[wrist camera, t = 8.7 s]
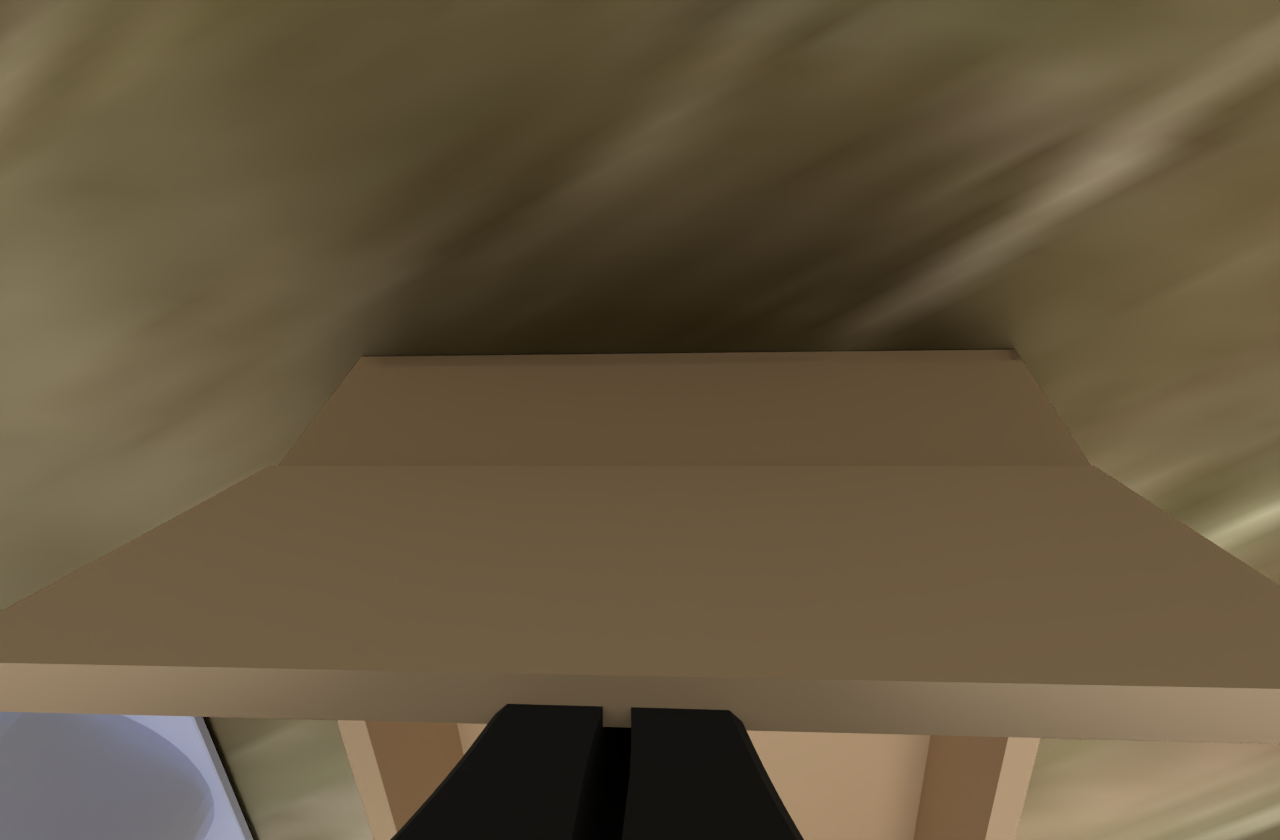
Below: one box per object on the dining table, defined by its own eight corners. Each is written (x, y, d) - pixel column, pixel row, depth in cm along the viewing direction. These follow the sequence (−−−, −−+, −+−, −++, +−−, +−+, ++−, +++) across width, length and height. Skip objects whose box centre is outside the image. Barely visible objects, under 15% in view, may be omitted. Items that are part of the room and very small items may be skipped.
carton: (474, 861, 29) (432, 1030, 25) (361, 357, 20) (263, 484, 16) (921, 878, 28) (958, 1059, 23) (1015, 349, 19) (1104, 486, 14)
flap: (-81, 709, 9) (-91, 660, 8) (273, 493, 15) (269, 465, 15) (1433, 748, 7) (1444, 692, 7) (1091, 496, 14) (1094, 466, 14)
